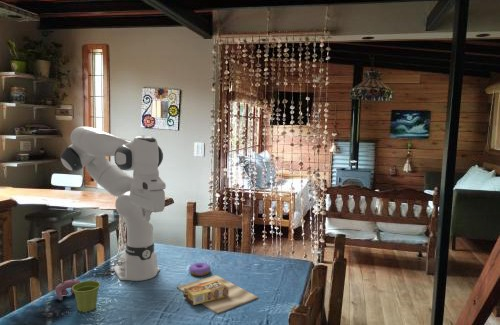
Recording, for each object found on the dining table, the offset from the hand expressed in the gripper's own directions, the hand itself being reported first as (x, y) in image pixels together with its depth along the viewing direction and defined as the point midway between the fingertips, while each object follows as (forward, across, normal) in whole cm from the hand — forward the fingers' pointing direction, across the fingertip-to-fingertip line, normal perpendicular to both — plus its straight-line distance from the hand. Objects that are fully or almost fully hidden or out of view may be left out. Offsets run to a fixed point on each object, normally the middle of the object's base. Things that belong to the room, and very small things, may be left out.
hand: (146, 219), depth 137 cm
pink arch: (+33, -28, -18) cm, 47 cm away
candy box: (+30, +6, +14) cm, 34 cm away
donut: (+34, -16, +34) cm, 50 cm away
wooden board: (+33, +6, +27) cm, 43 cm away
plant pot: (+33, -13, -17) cm, 40 cm away
